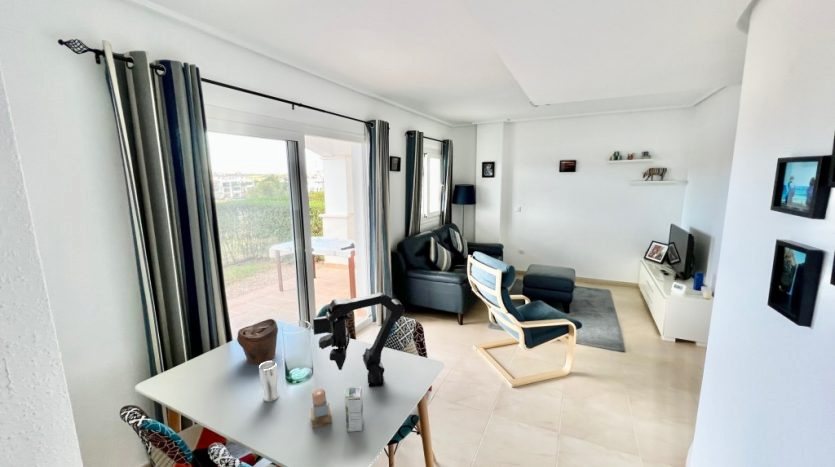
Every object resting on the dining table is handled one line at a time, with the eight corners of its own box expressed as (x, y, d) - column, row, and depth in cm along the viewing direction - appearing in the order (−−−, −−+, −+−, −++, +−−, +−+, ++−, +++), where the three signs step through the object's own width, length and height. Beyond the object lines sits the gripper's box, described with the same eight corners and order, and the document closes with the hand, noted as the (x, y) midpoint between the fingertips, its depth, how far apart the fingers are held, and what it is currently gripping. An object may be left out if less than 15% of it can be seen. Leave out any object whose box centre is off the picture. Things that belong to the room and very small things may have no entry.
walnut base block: (329, 411, 139) (329, 403, 138) (331, 424, 133) (331, 415, 132) (311, 416, 137) (310, 407, 136) (312, 429, 131) (311, 420, 130)
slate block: (326, 405, 137) (326, 396, 136) (328, 414, 132) (327, 405, 132) (313, 409, 135) (312, 400, 135) (314, 417, 131) (313, 408, 130)
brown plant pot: (231, 366, 171) (226, 332, 167) (257, 345, 190) (254, 314, 186) (263, 371, 167) (259, 336, 163) (287, 349, 186) (284, 318, 182)
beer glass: (283, 393, 150) (280, 362, 147) (272, 404, 144) (268, 371, 141) (270, 390, 153) (266, 359, 149) (258, 400, 146) (254, 368, 143)
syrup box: (348, 420, 134) (345, 387, 131) (363, 419, 134) (361, 386, 131) (346, 432, 128) (344, 397, 125) (362, 431, 129) (360, 396, 126)
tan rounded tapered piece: (326, 397, 136) (326, 388, 135) (324, 406, 131) (324, 396, 130) (314, 398, 135) (313, 389, 134) (311, 407, 131) (310, 398, 130)
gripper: (323, 320, 154) (326, 352, 157) (315, 342, 136) (318, 378, 139) (349, 319, 155) (351, 351, 158) (344, 340, 137) (346, 376, 140)
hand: (341, 363), depth 149 cm, fingers open, 9 cm apart
